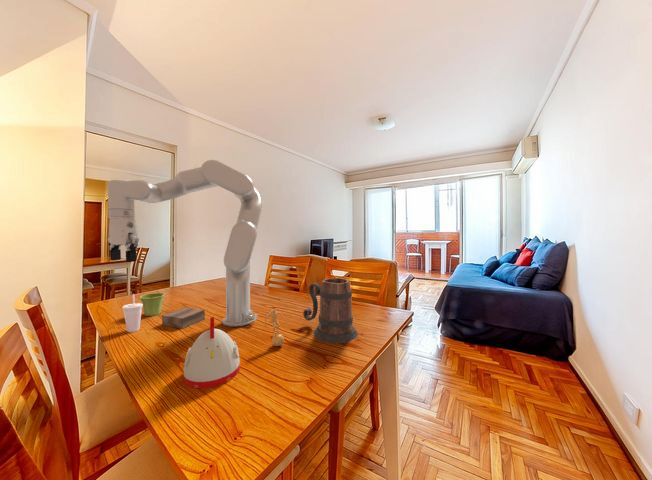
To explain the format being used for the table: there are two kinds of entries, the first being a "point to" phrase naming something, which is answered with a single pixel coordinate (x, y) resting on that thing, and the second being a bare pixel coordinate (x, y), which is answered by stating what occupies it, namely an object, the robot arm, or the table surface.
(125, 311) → the smoothie
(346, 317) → the tankard
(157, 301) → the plant pot
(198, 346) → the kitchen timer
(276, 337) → the figurine
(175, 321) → the plinth
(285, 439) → the table surface
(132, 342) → the table surface
